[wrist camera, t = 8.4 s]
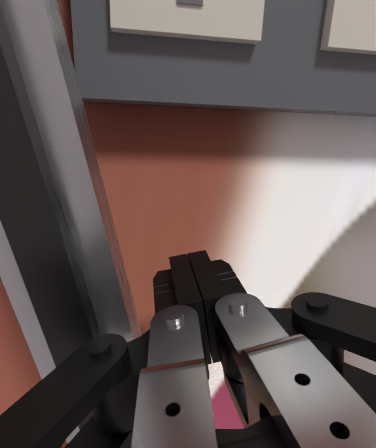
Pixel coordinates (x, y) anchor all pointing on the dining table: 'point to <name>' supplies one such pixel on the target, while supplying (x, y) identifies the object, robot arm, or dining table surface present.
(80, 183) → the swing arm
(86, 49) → the label panel
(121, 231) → the dining table surface
